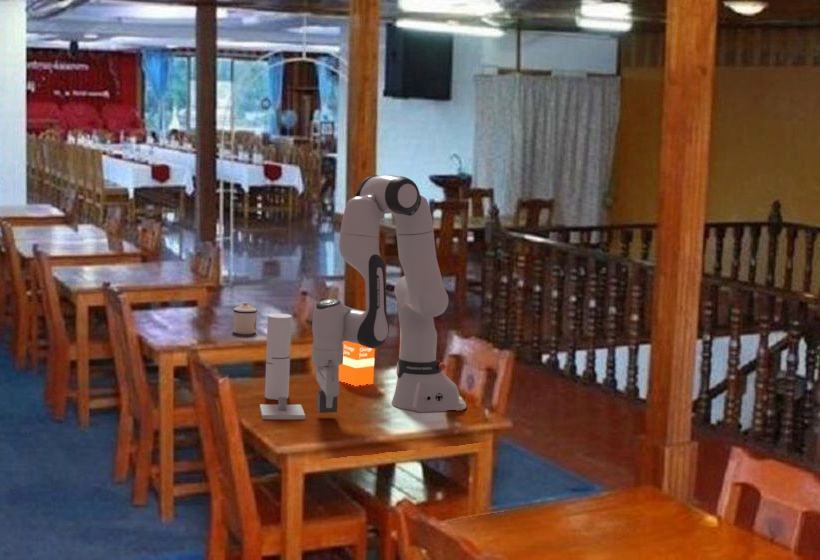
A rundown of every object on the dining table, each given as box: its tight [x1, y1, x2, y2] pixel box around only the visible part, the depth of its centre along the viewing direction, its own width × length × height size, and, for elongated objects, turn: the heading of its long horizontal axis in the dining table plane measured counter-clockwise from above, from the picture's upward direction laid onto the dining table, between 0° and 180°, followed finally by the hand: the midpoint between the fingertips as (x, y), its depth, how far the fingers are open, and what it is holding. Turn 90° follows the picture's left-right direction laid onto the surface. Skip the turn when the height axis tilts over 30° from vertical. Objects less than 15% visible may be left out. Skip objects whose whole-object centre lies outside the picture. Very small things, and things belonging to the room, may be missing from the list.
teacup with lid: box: [232, 301, 258, 335], centre depth 463 cm, size 12×9×12 cm
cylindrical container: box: [264, 313, 292, 401], centre depth 363 cm, size 7×7×25 cm
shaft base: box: [259, 397, 306, 420], centre depth 345 cm, size 12×12×5 cm
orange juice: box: [338, 341, 376, 387], centre depth 388 cm, size 8×9×20 cm
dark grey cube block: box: [316, 390, 338, 414], centre depth 343 cm, size 5×5×5 cm
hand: (327, 404), depth 343 cm, fingers closed on dark grey cube block, 5 cm apart
